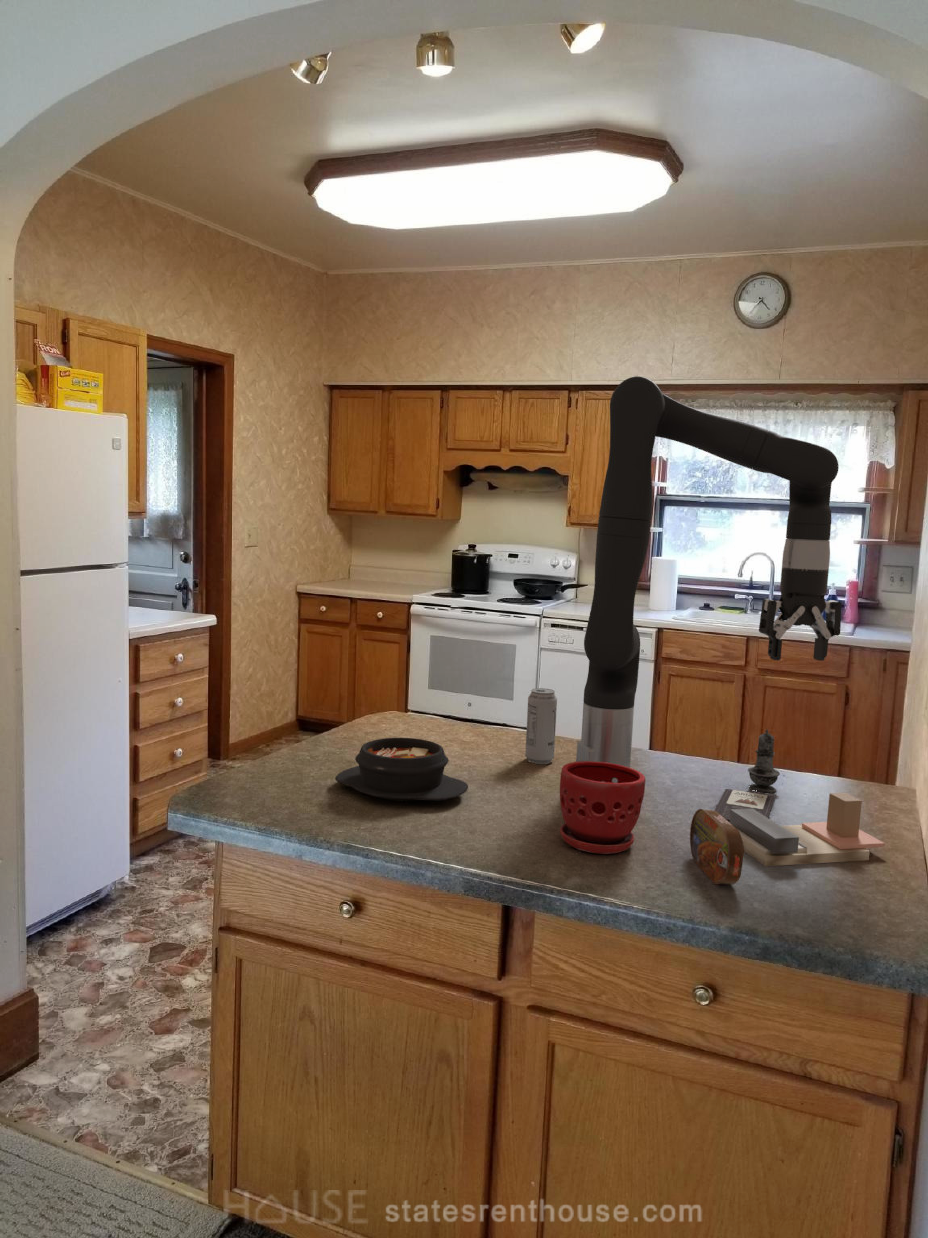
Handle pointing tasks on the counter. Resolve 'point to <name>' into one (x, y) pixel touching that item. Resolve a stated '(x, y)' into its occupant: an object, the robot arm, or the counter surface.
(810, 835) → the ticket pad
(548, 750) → the energy drink can
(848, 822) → the tan block on plate
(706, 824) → the tin
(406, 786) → the casserole
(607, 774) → the plant pot
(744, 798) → the chocolate bar
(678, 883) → the counter surface
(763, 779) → the stone finial
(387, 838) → the counter surface
